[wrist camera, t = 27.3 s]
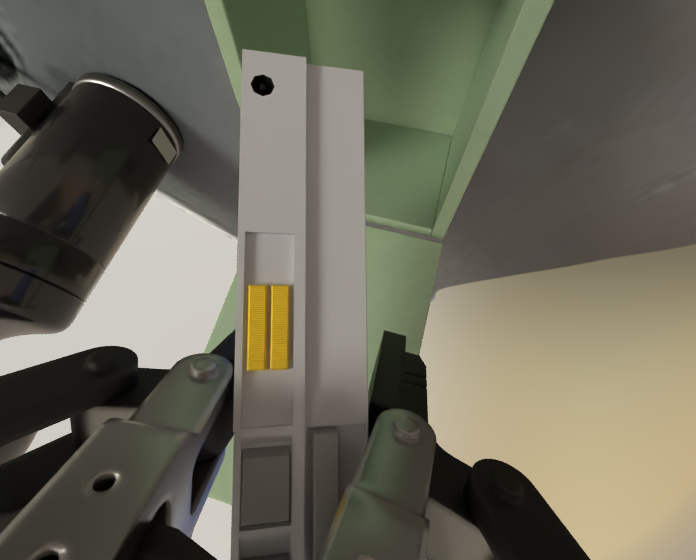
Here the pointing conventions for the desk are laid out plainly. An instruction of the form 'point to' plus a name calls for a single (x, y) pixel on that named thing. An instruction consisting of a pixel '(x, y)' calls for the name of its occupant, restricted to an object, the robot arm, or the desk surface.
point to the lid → (382, 309)
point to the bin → (402, 84)
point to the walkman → (298, 304)
